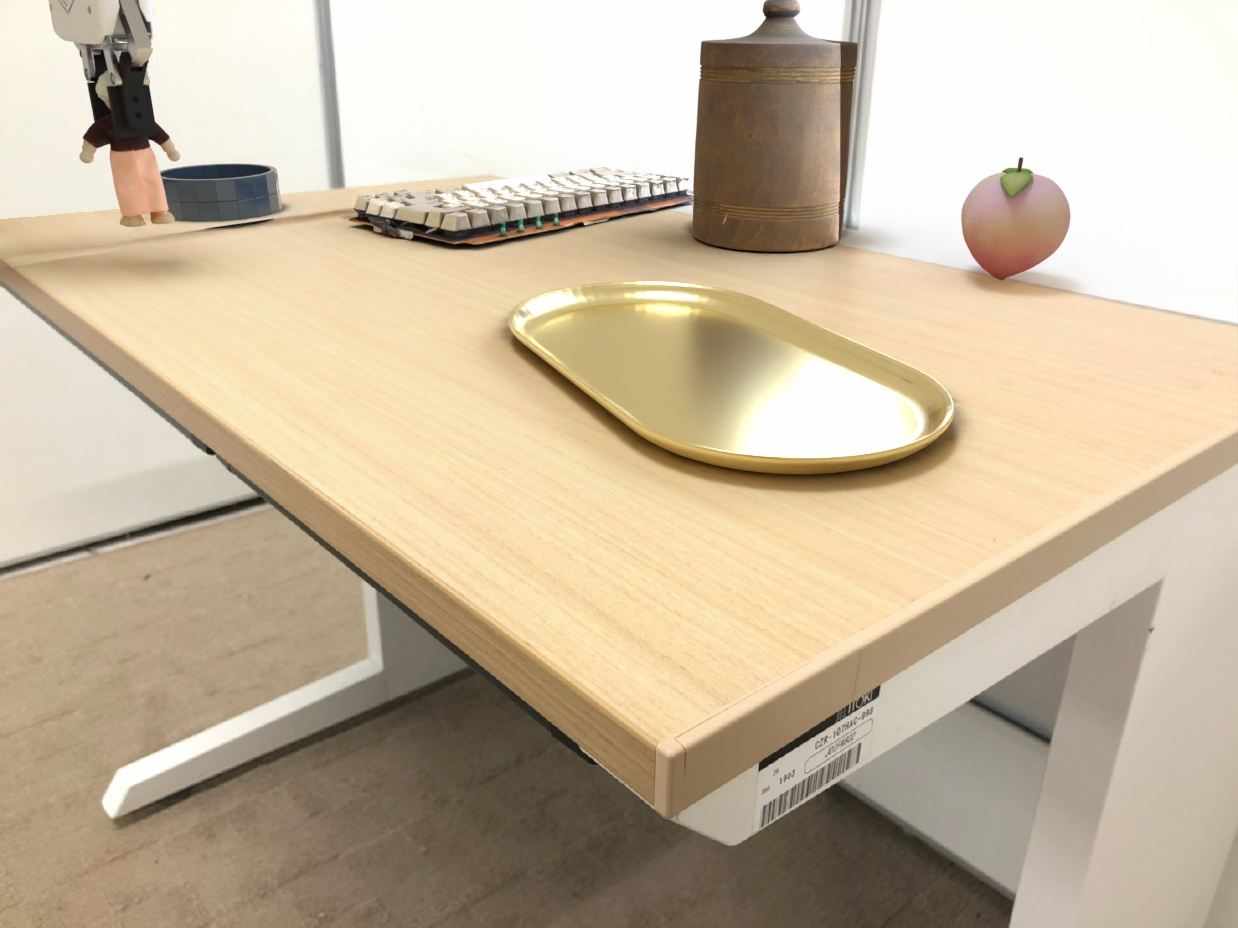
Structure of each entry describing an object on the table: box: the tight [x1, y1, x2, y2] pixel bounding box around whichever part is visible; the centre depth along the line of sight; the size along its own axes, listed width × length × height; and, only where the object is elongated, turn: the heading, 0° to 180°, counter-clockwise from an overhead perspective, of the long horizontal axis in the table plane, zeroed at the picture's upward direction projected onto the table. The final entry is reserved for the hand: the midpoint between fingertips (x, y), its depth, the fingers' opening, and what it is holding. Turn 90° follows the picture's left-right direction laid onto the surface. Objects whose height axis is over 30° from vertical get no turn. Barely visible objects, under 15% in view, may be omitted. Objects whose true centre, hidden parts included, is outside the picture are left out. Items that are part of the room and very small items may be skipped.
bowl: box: [159, 162, 283, 230], centre depth 107 cm, size 12×12×5 cm
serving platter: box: [507, 280, 955, 475], centre depth 62 cm, size 19×35×2 cm, turn 25°
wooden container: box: [691, 0, 859, 253], centre depth 95 cm, size 15×15×22 cm
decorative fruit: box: [960, 156, 1071, 281], centre depth 82 cm, size 9×8×10 cm
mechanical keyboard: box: [348, 166, 694, 246], centre depth 110 cm, size 38×19×3 cm, turn 139°
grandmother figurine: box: [79, 71, 181, 228], centre depth 84 cm, size 8×4×13 cm, turn 135°
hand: (126, 132), depth 83 cm, fingers closed on grandmother figurine, 3 cm apart
